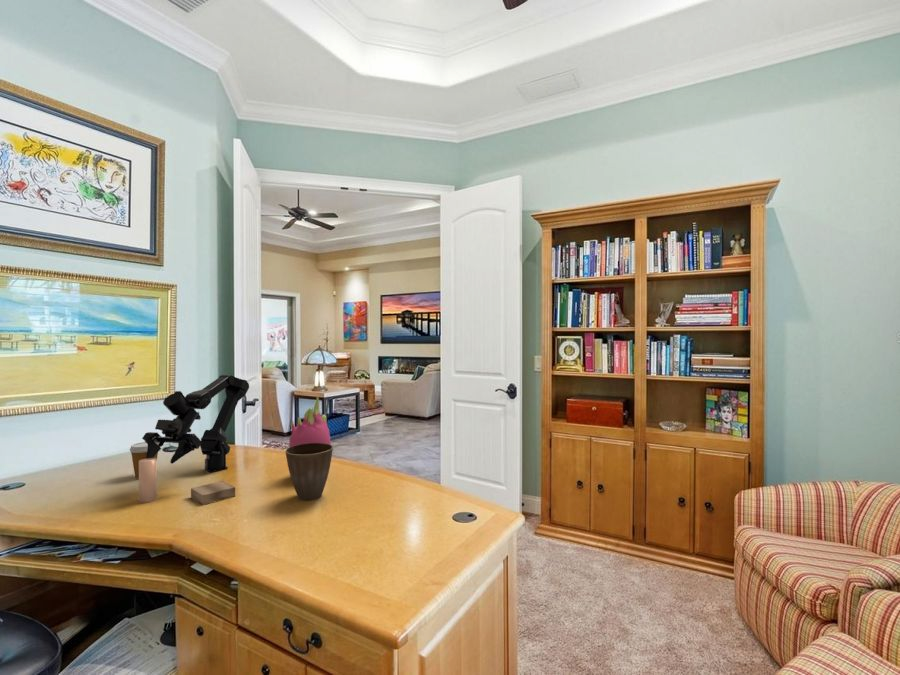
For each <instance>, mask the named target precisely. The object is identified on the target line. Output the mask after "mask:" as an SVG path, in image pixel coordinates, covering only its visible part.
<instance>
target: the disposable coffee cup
mask: <svg viewBox="0 0 900 675" xmlns="http://www.w3.org/2000/svg"><path fill="white" fill-rule="evenodd" d="M147 449H148V445H147V443H146V442H145V441H144V442H143V441H142V442H137V443H134V444H131V446H130V448H129V451H130V453H131V454H130V455H131V459H132V466H133V472H134V478H135V479H139V460H142V459H146V455H147ZM158 454H159V452H158V453H157V454H156V455H155V456H154V457H153V458H156V459H157V460H158V457H159V456H158Z"/></svg>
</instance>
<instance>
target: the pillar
mask: <svg viewBox="0 0 900 675" xmlns="http://www.w3.org/2000/svg"><path fill="white" fill-rule="evenodd" d="M157 462H158V458H157V459H156V458H147V459H142V460H139V478H138V501H139V503H141V504H145V503H146V504H147V503H151V502H154V501H157V500H158V487H157V486H158V477H157V476H158V475H157V473H158V470H157V467H158V466H157V465H158V464H157Z"/></svg>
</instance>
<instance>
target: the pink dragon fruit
mask: <svg viewBox="0 0 900 675" xmlns="http://www.w3.org/2000/svg"><path fill="white" fill-rule="evenodd" d="M290 424H291V425H290V428H291V435H289V446H288V448H289V447H292V446H295V445H299V444H306V443H326V444H330V445H332V442H331V435H330V429H329V427H328V422H327V416H326V415H325V414H321V411H320V399H319V396H316V400H315V403H314V406H313V407H311V408H308V409H307V410H306V411H305V412H304V415H303V420H302V419H301V417H297V425H296V426H295V423H294V420H292V421H291V423H290Z"/></svg>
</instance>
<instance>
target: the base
mask: <svg viewBox="0 0 900 675" xmlns="http://www.w3.org/2000/svg"><path fill="white" fill-rule="evenodd" d="M232 496H234V497H236V487H235V486H234V485H232V484H230V483H228V482H226V481H224V480H220V481H216V482H211V483H207V484H203V485H199V486H195V487H191V488H190V498H191V499H193V500H194V501H196V502H198V503H199V504H200V505H202V506H203V504H204V505H207V503H208V504H210V503H211V502H212V503H215V502H214V501H216V502H218V500H219V501H222V500H221V499H223V500H226V499H225V498H227V499H230V498H233V497H232ZM229 497H230V498H229Z"/></svg>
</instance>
